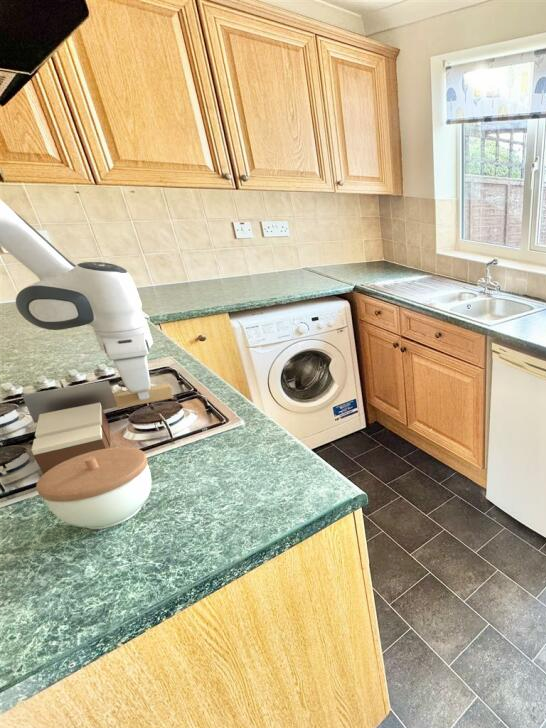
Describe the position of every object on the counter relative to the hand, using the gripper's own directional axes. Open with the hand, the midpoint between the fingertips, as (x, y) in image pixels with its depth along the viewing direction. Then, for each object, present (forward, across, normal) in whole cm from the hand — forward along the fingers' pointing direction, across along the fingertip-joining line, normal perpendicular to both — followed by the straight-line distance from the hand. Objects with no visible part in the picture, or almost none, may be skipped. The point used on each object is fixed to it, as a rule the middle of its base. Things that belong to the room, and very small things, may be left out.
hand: (144, 395), depth 97 cm
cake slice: (+4, +18, -12) cm, 21 cm away
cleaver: (+2, 0, -7) cm, 7 cm away
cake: (+4, +9, -12) cm, 15 cm away
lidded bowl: (+4, +38, -7) cm, 39 cm away
